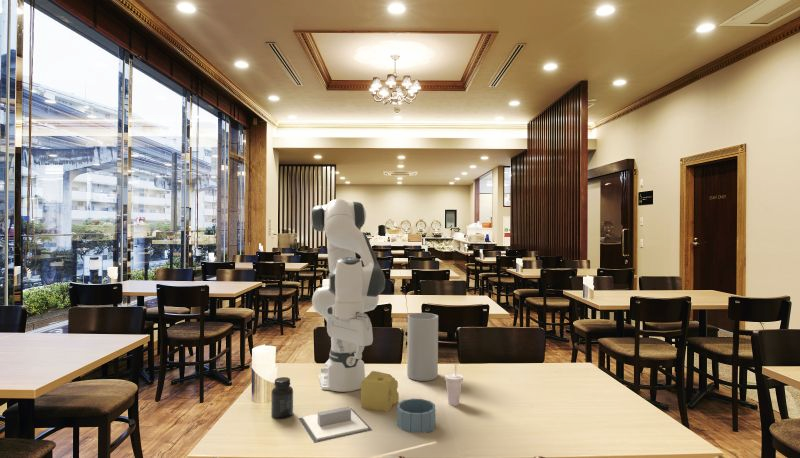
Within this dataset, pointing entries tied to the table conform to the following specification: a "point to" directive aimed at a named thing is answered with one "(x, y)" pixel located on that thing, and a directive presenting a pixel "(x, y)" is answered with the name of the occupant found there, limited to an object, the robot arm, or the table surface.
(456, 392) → the smoothie
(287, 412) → the supplement bottle
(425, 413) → the bowl
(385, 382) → the cheese
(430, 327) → the cylinder vase
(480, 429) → the table surface
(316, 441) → the mat
